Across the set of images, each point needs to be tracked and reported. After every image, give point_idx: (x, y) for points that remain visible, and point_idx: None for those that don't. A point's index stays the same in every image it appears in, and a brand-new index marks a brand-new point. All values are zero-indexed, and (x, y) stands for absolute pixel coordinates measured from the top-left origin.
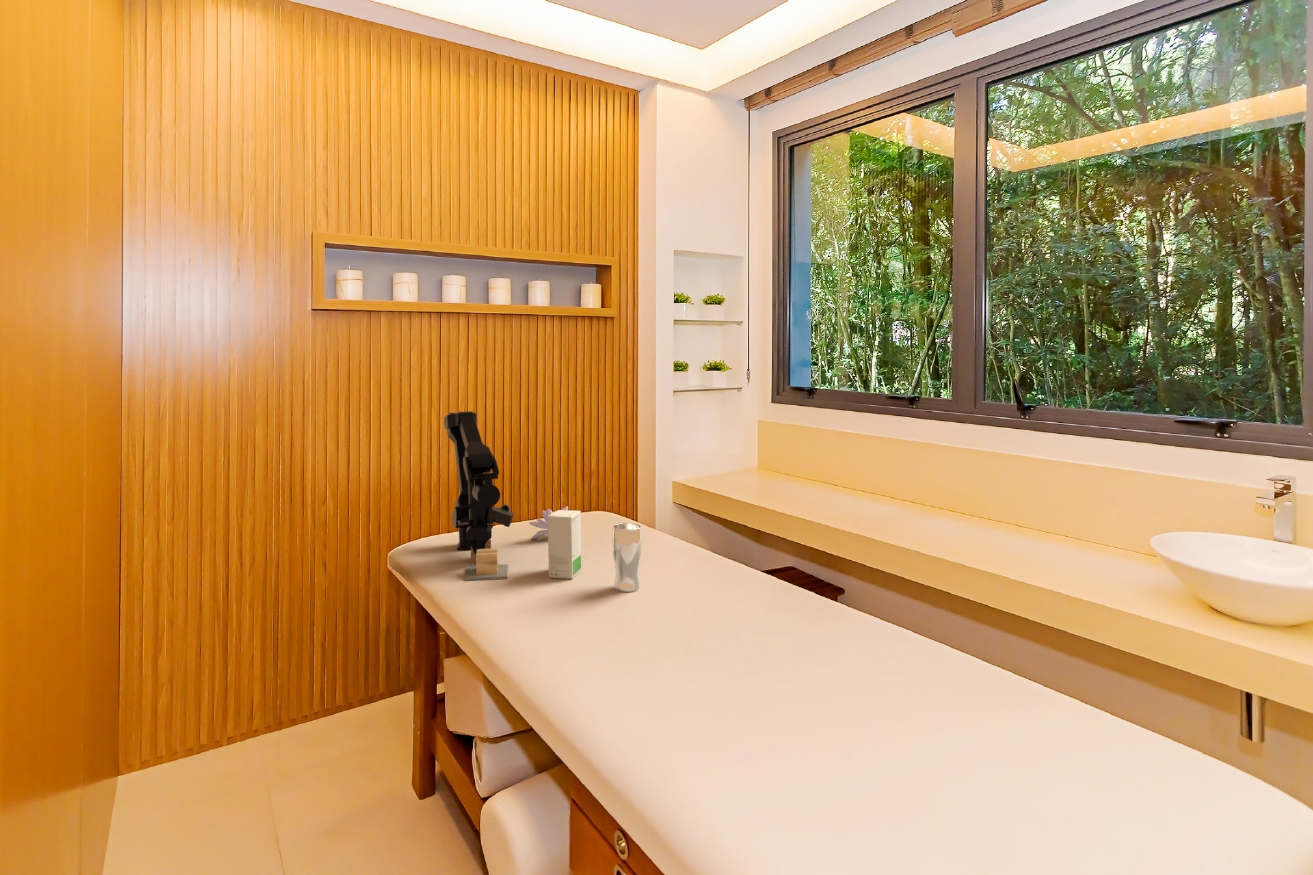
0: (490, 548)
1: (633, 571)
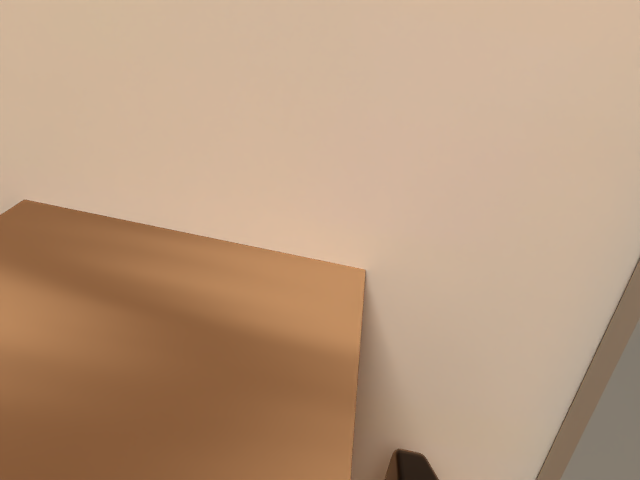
0: (324, 476)
1: None
